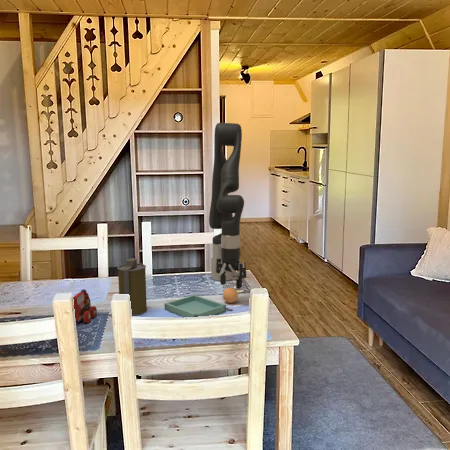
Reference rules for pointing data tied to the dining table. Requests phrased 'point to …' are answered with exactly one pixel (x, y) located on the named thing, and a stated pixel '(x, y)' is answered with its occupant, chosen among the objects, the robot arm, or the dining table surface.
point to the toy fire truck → (83, 307)
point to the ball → (230, 295)
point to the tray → (195, 307)
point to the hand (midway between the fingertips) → (230, 286)
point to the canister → (133, 284)
